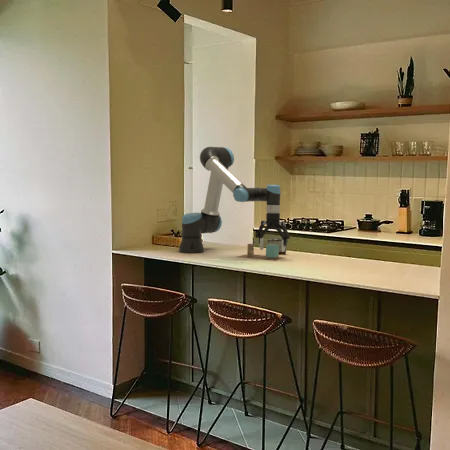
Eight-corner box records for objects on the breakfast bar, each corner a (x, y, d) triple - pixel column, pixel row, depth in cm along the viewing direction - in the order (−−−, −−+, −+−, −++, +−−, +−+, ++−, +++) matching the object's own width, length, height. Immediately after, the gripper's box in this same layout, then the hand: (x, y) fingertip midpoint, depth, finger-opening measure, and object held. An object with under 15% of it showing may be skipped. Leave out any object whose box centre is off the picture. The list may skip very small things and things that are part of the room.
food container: (287, 254, 334) (288, 238, 333) (288, 256, 328) (288, 239, 327) (267, 254, 335) (267, 237, 334) (266, 255, 329) (267, 238, 328)
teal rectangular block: (265, 256, 312) (266, 245, 312) (270, 255, 317) (270, 244, 316) (274, 257, 310) (274, 245, 309) (278, 256, 314) (278, 244, 313)
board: (235, 258, 318) (235, 256, 318) (248, 255, 330) (248, 253, 330) (275, 262, 304) (275, 260, 304) (286, 259, 316) (286, 257, 316)
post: (247, 256, 320) (247, 244, 320) (249, 255, 323) (249, 243, 322) (251, 256, 319) (251, 244, 318) (253, 256, 321) (253, 244, 320)
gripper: (250, 211, 314) (249, 249, 316) (290, 214, 301) (289, 253, 303) (256, 211, 321) (256, 248, 323) (296, 213, 307) (295, 251, 309)
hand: (272, 250), depth 313 cm, fingers open, 13 cm apart
